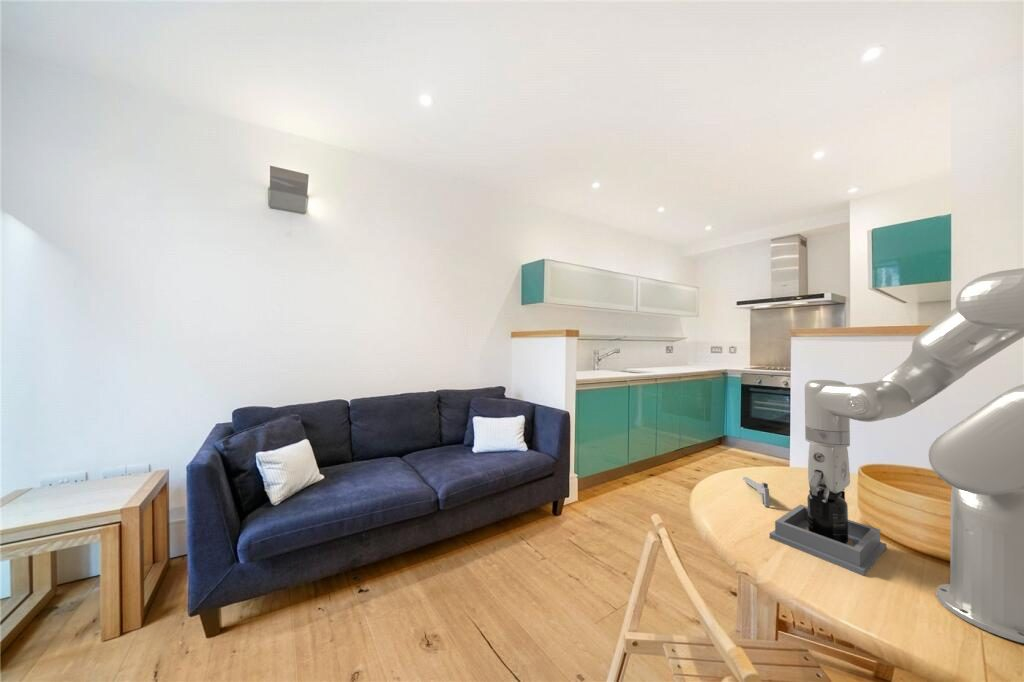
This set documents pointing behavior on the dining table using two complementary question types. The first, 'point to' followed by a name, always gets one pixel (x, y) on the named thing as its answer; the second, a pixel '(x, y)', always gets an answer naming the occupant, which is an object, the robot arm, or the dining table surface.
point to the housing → (831, 541)
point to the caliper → (760, 490)
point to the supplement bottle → (831, 519)
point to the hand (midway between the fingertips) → (827, 512)
